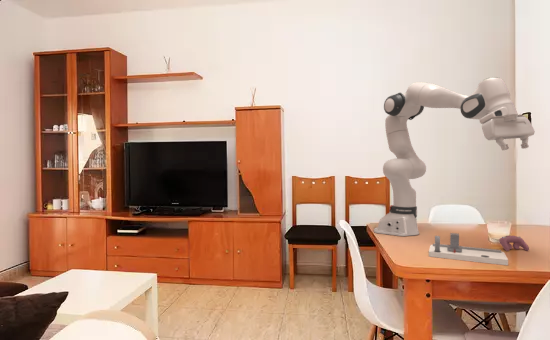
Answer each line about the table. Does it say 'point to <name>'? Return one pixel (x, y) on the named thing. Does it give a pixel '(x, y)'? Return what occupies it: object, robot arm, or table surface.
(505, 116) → the robot arm
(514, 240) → the video game controller
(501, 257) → the gauge board
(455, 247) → the leg
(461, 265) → the table surface
